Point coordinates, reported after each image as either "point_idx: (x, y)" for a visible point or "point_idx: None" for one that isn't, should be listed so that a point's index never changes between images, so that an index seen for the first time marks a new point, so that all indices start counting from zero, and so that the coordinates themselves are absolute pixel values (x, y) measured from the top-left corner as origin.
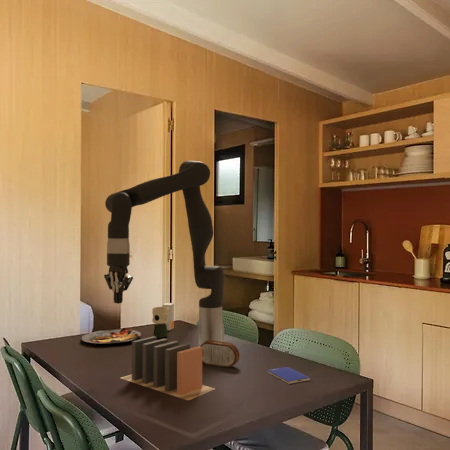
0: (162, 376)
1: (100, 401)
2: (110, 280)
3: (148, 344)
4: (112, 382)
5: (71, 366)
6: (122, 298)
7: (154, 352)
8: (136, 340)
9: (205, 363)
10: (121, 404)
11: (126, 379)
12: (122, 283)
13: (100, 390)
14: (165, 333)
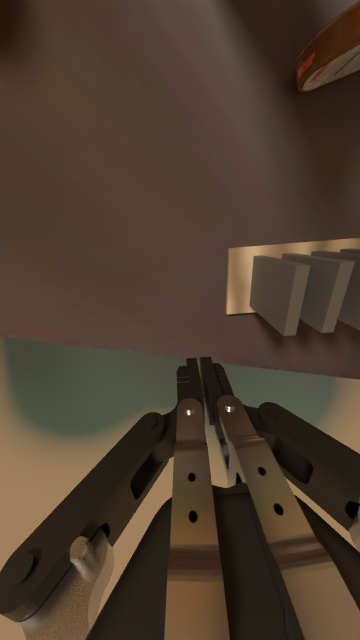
0: None
1: (267, 367)
2: (122, 515)
3: (334, 325)
4: (224, 324)
5: (102, 328)
6: (224, 373)
7: (350, 324)
8: (286, 324)
9: (307, 91)
10: (296, 356)
11: (241, 310)
12: (316, 497)
13: (237, 350)
14: None
